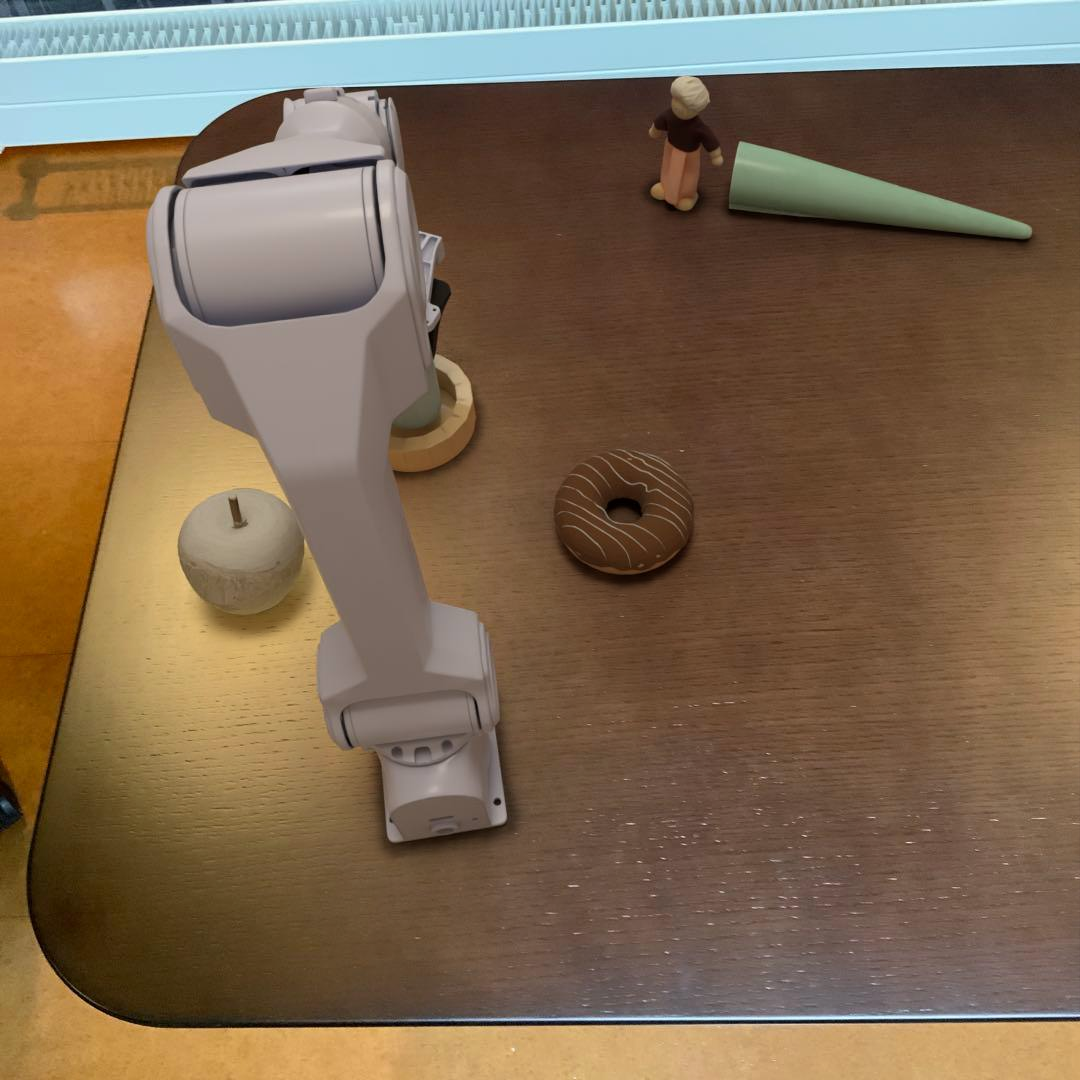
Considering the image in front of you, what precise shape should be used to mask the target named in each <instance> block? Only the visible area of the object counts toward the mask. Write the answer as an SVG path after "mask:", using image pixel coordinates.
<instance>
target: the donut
mask: <svg viewBox="0 0 1080 1080" xmlns="http://www.w3.org/2000/svg"><path fill="white" fill-rule="evenodd" d="M555 493H556V494H555V498H554V499H555V500H554V509H553V513H554V515H553V516H554V523H555V525H556V528H557V532H558V535H559V538H560V539H561V541H562V543H563V544H564V545H565V546H566V547H567V549H568V550H569V551H570V552H571V553H572V555H574V557H576V558H577V559H578V560H579V561H580V562H582V563H584V564H586V565H588V567H591V568H593V569H595V570H597V571H600V572H603V573H607V574H613V575H637V574H642V573H646V572H649V571H652V570H655V569H657V568H660V567H661V566H663V565H664V564H666V563H667V562H668V561H670V560H672V559H673V558H674V557H675V556H676V555H677V553H679V551H681V550H682V549H683V548H684V547H685V546H686V545H687V543H688V541H689V537H690V536H691V534H692V533H693V531H694V514H695V513H694V511H695V503H694V501H693V497H692V496H693V495H692V494H691V490H690V488H689V486H688V484H687V482H686V481H685V479H684V478H683V477H682V476H681V474H680V473H679V472H678V471H677V470H676V469H675V468H674V467H673V466H671V465H670V463H668V462H667V461H665V460H664V459H662V458H661V457H659V456H657V455H654V454H650V453H646V452H639V451H637V450H623V449H621V448H616V449H614V450H609V451H601V452H600V453H599V454H598V453H597V454H595V455H592V456H590V457H589V458H586V459H585V460H583V461H581V462H580V463H579V464H577V465H576V466H575V467H574V468H572V470H571V471H570V472H569V473H568V475H567V476H566V477H565V479H564V480H563V481H562V483H561V485H560V486H559V489H558V490H557V492H555ZM616 499H631V500H633V501H636V502H638V504H639V506H640V507H641V509H640V513H641V517H640V518H639V519H638V520H636V521H635V522H630V523H626V522H619V521H614V520H613V519H611V518H610V517H609V515H608V514H607V511H606V509H607V508H608V504H609V503H610V502H611V501H614V500H616Z"/></svg>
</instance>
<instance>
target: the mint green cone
mask: <svg viewBox="0 0 1080 1080" xmlns="http://www.w3.org/2000/svg"><path fill="white" fill-rule="evenodd" d="M734 157H735V158H734V162H733V168H732V173H731V180H730V187H729V197H728V204H729V205H728V209H731V210H738V211H739V210H740V211H747V212H757V213H765V214H773V215H785V216H793V217H804V218H805V217H806V218H820V219H830V220H839V221H848V222H849V221H850V222H859V223H868V224H869V223H870V224H877V225H878V224H879V225H886V226H896V227H903V228H913V229H923V230H924V229H925V230H932V231H939V232H948V233H958V234H967V235H976V236H977V235H978V236H986V237H995V238H1005V239H1016V240H1027V239H1029V238H1031V237H1032V235H1033V228H1032V227H1031V226H1030V225H1029V224H1026V223H1024V222H1021V221H1018V220H1015V219H1011V218H1008V217H1005V216H1002V215H999V214H995V213H992V212H988V211H985V210H982V209H979V208H975V207H971V206H968V205H965V204H963V203H962V204H961V203H958V202H955V201H952V200H948V199H945V198H941V197H938V196H935V195H931V194H928V193H924V192H921V191H918V190H916V189H915V190H914V189H911V188H907V187H904V186H902V185H897V184H894V183H891V182H888V181H884V180H881V179H877V178H873V177H871V176H867V175H864V174H860V173H857V172H854V171H850V170H847V169H843V168H840V167H837V166H834V165H830V164H827V163H823V162H820V161H816V160H814V159H810V158H806V157H803V156H800V155H797V154H793V153H790V152H787V151H782V150H778V149H774V148H770V147H766V146H761V145H758V144H753V143H750V142H745V141H741V140H740V141H739V142H738V145H737V147H736V153H735V156H734Z"/></svg>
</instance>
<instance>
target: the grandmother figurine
mask: <svg viewBox="0 0 1080 1080" xmlns="http://www.w3.org/2000/svg"><path fill="white" fill-rule="evenodd" d="M670 94H671V96H672V98H671V103H670V105H671V107H668V108H667V109H665V110H663V111H662V112H661V113H659V114H658V116H656V117H655V118H654V120H653V123H652V125H651V127H650V128H649V129H648V135H649V137H650V138H651V139H657V138H658V137H659V136H660V135H661V133H662V132H667V137H666V138H665V142H664V148H663V156H662V164H661V170H660V179H659V180H660V182H657V183H655V184H654V185H653V186H652V187H651V189H650V195H651V196H652V197H653V198H654V199H656V200H658V201H665V202H667V203H668V204H670V205H672V206H673V207H674V208H675V209H677V210H679V211H683V212H687V211H690V210H692V209H693V208H694V206H695V205H696V203H697V201H698V199H699V194H698V191H697V189H698V183H699V180H700V179H699V178H700V169H701V147H703V149H704V150H705V151H706V152H707V153H708V156H709V157H710V158H711V161H710V162H711V165H712V166H713V167H716V168H718V167H721V166H722V165H723V163H724V159H723V156H722V150H721V145H722V143H721V142H720V140H719V139H718V138H717V136H716V135H715V133H714V131H713V130H712V129H711V128H710V127H709V126H708V125H707V124H706V123H704V121H703V120H702V118H701V117H700V115H699V113H700V112H702V111H703V110H704V109H706V107H707V105H708V104H709V103H711V100H710V92H709V91H708V89H707V87H706V85H705V84H703V82H702V80H701V79H700V78H698V77H695V76H690V75H682V76H679V77H677V78H676V79H675V80H674V81H672V83H671V85H670ZM701 145H702V146H701Z"/></svg>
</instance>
